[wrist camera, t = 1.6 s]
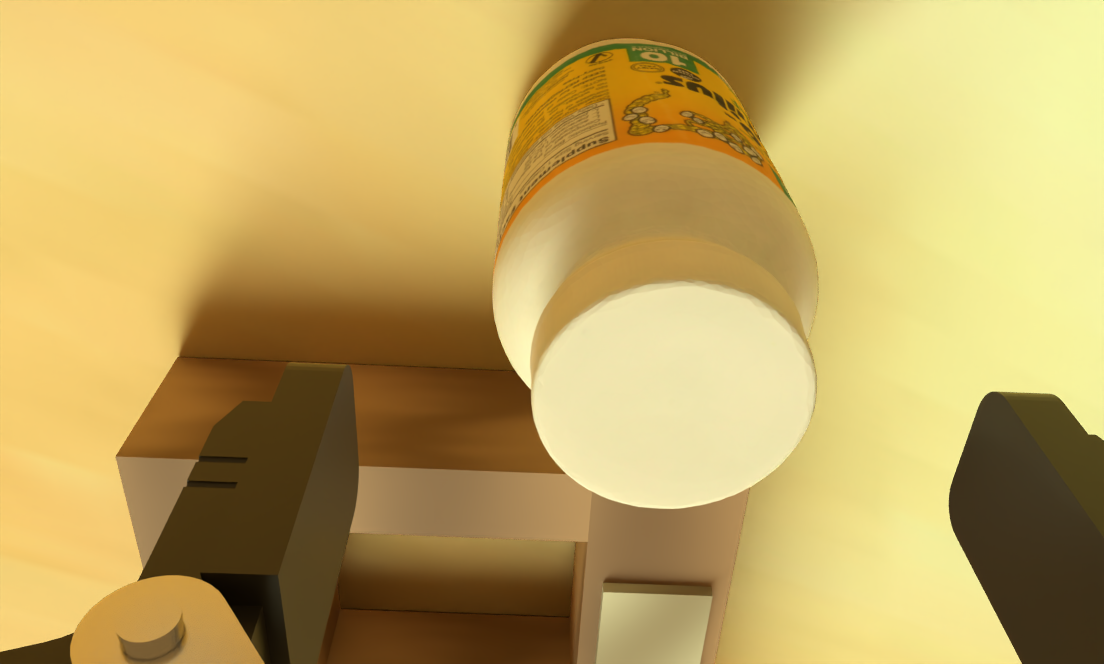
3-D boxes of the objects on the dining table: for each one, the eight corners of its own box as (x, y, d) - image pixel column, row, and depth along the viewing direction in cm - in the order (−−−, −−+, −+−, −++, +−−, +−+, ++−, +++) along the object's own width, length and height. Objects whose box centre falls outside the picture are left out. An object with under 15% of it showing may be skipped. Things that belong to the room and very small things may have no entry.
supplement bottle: (459, 139, 21) (395, 384, 13) (650, -25, 19) (715, 141, 11) (610, 299, 23) (637, 596, 15) (795, 165, 22) (940, 421, 13)
